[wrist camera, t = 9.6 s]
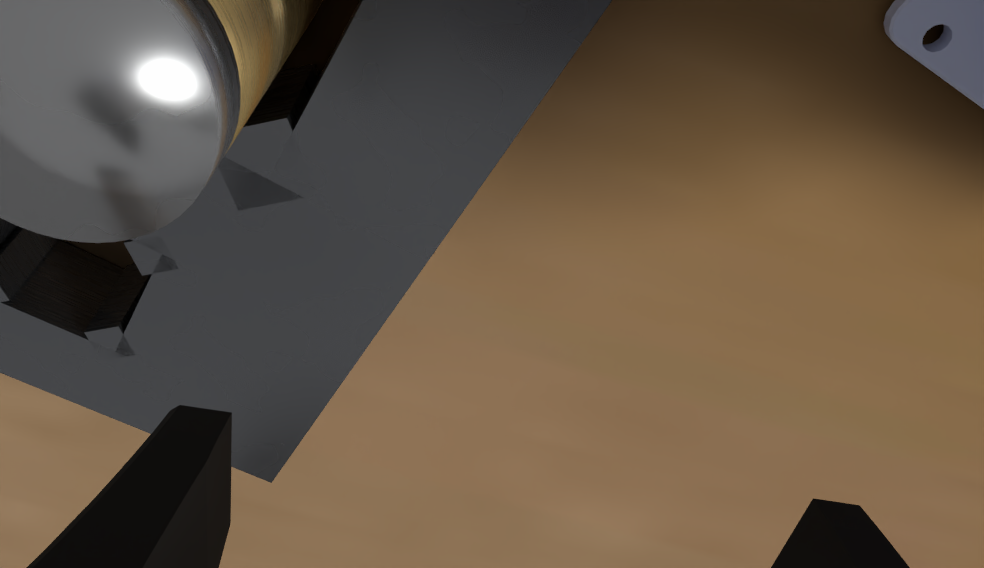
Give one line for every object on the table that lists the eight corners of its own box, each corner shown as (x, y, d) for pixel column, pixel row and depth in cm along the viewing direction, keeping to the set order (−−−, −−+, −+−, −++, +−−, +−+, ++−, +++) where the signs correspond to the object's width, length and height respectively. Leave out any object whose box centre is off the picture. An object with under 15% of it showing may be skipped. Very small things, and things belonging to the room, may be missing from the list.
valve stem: (371, -12, 16) (284, 155, 11) (213, 91, 18) (60, 288, 12) (231, -221, 15) (34, -156, 9) (65, -89, 16) (-201, 44, 10)
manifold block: (608, -56, 16) (621, -13, 14) (293, 409, 23) (271, 482, 21) (-74, -522, 12) (-191, -558, 10) (-197, 196, 20) (-279, 259, 17)
